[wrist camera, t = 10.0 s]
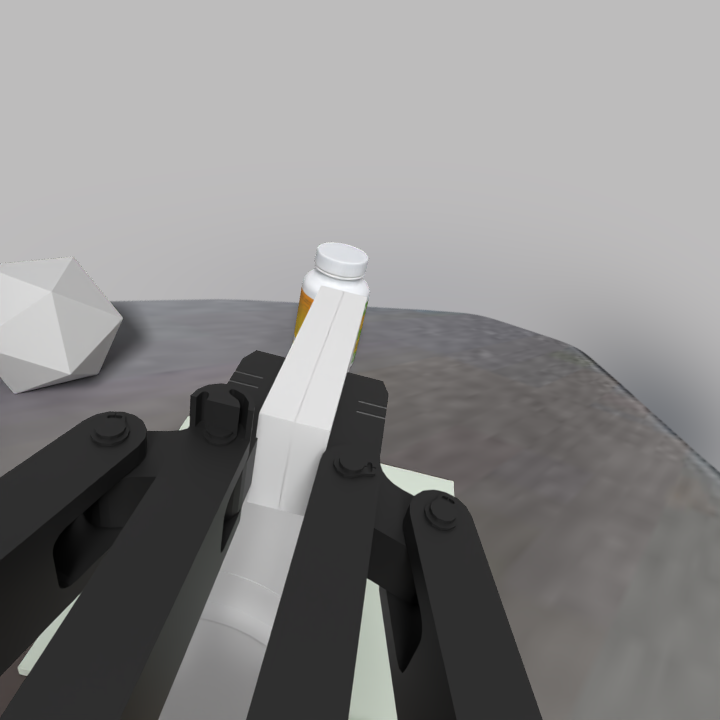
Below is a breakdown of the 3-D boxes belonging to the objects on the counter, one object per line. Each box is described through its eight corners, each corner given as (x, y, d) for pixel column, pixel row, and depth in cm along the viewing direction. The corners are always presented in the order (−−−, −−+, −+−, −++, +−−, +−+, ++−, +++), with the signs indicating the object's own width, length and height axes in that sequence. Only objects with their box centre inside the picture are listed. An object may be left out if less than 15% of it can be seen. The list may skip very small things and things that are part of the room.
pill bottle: (20, 649, 16) (197, 405, 29) (194, 774, 18) (283, 496, 32) (196, 555, 13) (301, 335, 27) (370, 714, 16) (386, 440, 29)
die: (102, 337, 40) (1, 237, 35) (170, 329, 36) (65, 212, 30) (26, 418, 35) (-107, 317, 30) (92, 422, 31) (-50, 303, 25)
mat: (462, 782, 20) (466, 777, 20) (19, 674, 20) (17, 667, 20) (451, 486, 33) (453, 481, 33) (188, 422, 33) (188, 416, 33)
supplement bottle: (343, 383, 41) (369, 274, 35) (281, 364, 41) (297, 253, 36) (359, 352, 45) (384, 251, 40) (303, 334, 46) (320, 232, 41)
